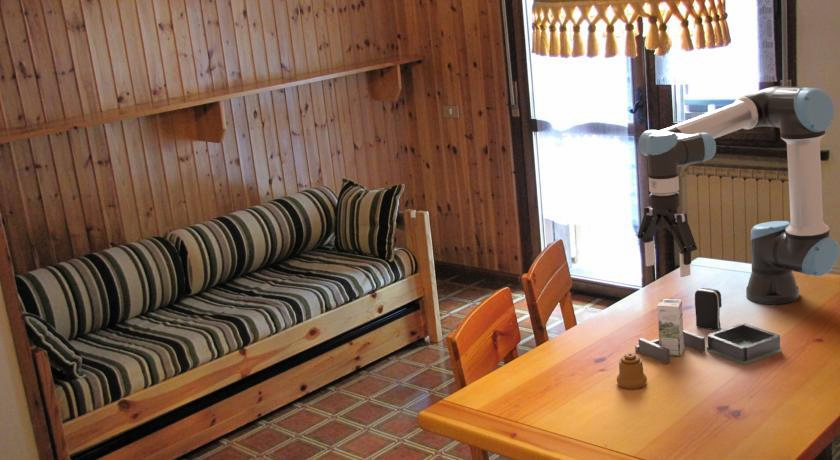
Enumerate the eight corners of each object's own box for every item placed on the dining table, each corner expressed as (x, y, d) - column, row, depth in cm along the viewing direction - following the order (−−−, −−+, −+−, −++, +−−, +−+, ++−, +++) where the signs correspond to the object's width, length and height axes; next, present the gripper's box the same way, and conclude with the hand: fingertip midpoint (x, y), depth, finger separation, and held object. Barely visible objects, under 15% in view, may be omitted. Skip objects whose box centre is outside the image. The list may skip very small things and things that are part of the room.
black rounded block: (724, 326, 266) (722, 288, 263) (717, 331, 263) (716, 292, 260) (701, 322, 271) (700, 285, 268) (695, 327, 268) (693, 289, 265)
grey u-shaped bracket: (673, 338, 262) (672, 325, 261) (705, 351, 251) (704, 337, 250) (635, 351, 256) (634, 337, 255) (666, 364, 245) (665, 350, 244)
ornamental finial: (652, 381, 236) (637, 392, 231) (626, 376, 241) (611, 386, 236) (650, 352, 234) (635, 362, 229) (624, 347, 239) (609, 357, 234)
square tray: (743, 337, 256) (743, 322, 255) (781, 351, 245) (781, 335, 244) (706, 350, 251) (705, 335, 250) (743, 365, 239) (743, 349, 238)
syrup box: (684, 348, 254) (682, 298, 250) (681, 357, 249) (678, 305, 245) (663, 347, 256) (660, 297, 253) (659, 355, 251) (656, 305, 248)
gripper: (621, 188, 251) (626, 263, 256) (686, 202, 229) (689, 284, 234) (643, 183, 254) (647, 257, 259) (709, 196, 232) (712, 277, 237)
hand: (667, 270), depth 247 cm, fingers open, 13 cm apart
